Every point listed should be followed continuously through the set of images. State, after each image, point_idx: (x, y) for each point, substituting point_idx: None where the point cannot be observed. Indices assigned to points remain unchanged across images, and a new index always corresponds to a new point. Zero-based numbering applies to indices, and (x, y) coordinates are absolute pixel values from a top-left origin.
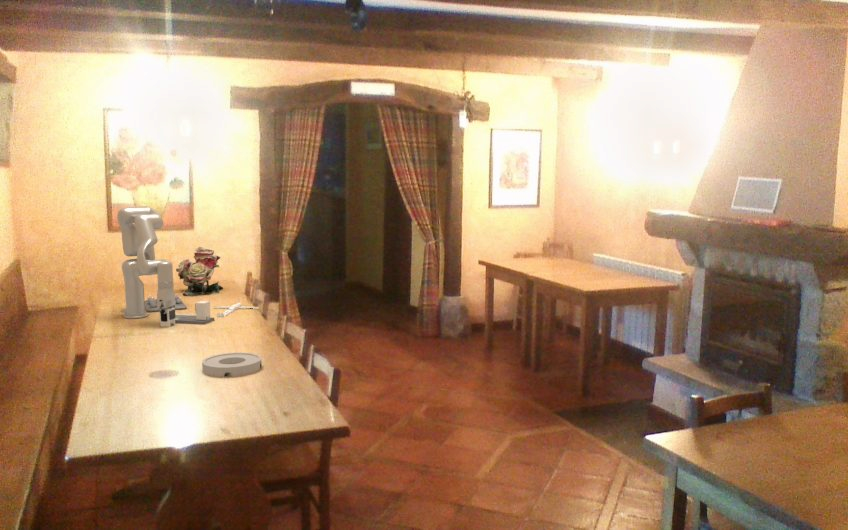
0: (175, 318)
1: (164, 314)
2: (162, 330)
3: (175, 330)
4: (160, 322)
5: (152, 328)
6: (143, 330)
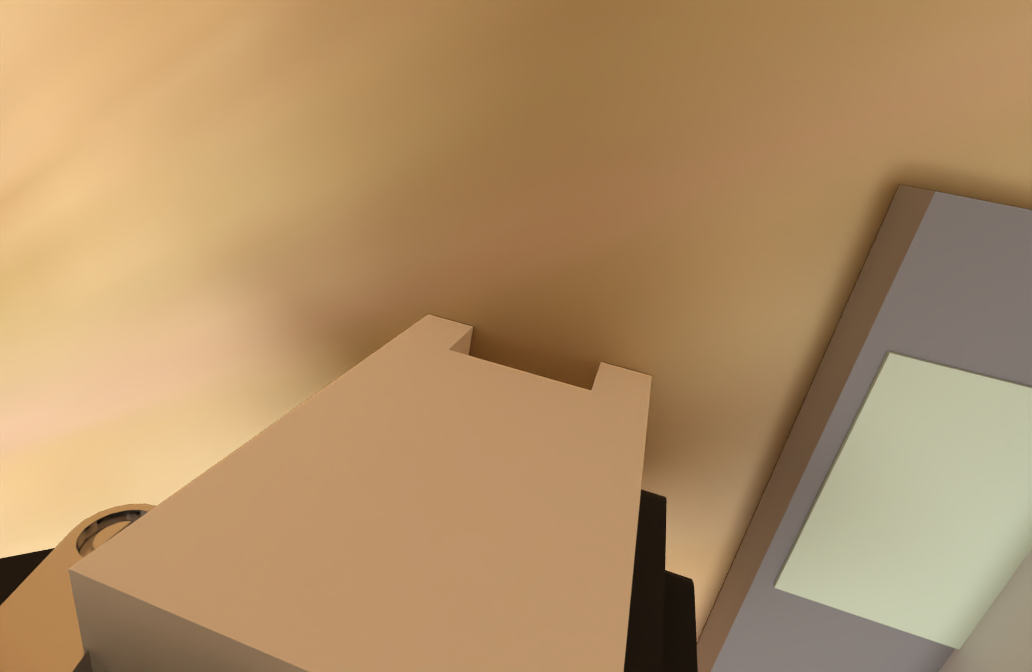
0: (994, 558)
1: None
2: (178, 429)
3: None
4: (388, 347)
5: (259, 214)
6: (95, 103)
